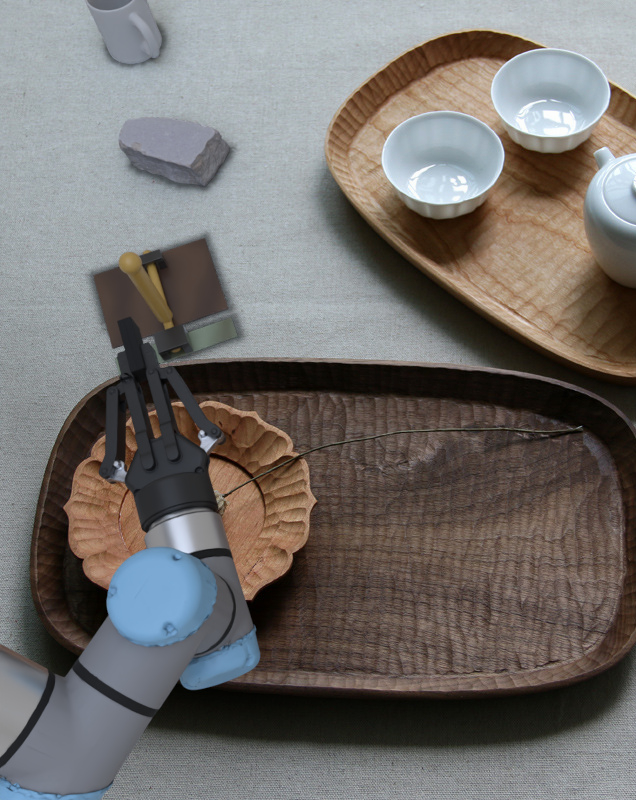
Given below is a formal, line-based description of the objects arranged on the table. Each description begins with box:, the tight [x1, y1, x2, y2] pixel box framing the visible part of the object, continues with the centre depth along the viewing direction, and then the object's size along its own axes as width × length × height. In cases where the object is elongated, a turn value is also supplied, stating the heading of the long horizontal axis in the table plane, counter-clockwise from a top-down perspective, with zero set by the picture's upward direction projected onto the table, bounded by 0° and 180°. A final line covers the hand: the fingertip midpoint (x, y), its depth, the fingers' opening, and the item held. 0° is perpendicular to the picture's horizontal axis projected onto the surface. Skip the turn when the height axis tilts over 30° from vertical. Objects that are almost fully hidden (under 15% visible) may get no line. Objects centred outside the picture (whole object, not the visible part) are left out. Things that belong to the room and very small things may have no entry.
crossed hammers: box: [118, 249, 180, 352], centre depth 102 cm, size 3×16×16 cm, turn 21°
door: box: [92, 237, 239, 375], centre depth 108 cm, size 16×16×4 cm
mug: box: [84, 0, 163, 65], centre depth 123 cm, size 12×8×11 cm
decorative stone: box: [118, 116, 230, 188], centre depth 116 cm, size 15×7×10 cm
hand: (128, 324), depth 88 cm, fingers closed
